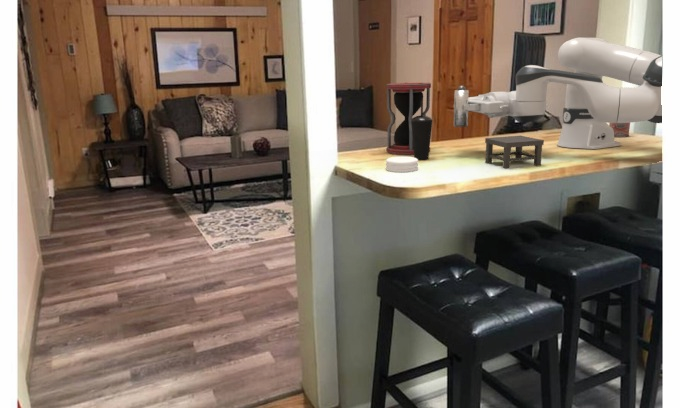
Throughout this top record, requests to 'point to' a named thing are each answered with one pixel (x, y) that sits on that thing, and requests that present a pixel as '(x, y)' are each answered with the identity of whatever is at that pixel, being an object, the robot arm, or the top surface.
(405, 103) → the hourglass
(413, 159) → the coaster
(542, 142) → the stool
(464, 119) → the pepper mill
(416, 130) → the drinking cup
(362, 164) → the top surface
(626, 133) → the lighter
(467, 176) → the top surface
